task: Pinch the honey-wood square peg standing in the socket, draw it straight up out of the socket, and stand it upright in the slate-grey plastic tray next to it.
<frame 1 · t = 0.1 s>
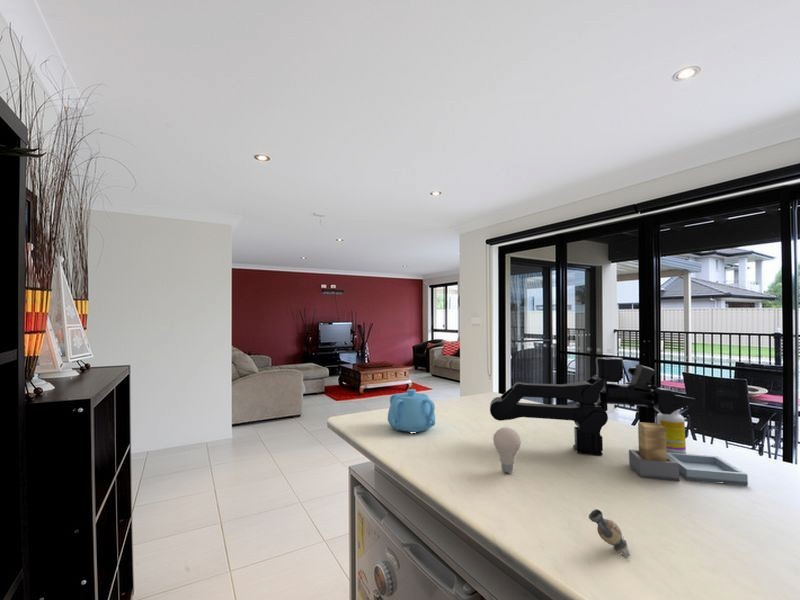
hand: (686, 397, 103), 17 cm above the table, tool horizontal, fingers open, 9 cm apart
tray: (703, 472, 93), on the table
peg: (653, 470, 93), point 1 cm above the table, touching socket
light bulb: (507, 473, 93), on the table
decorative pot: (411, 429, 130), on the table
vase: (607, 550, 62), on the table
supplement bottle: (671, 450, 109), on the table
socket: (653, 472, 93), on the table
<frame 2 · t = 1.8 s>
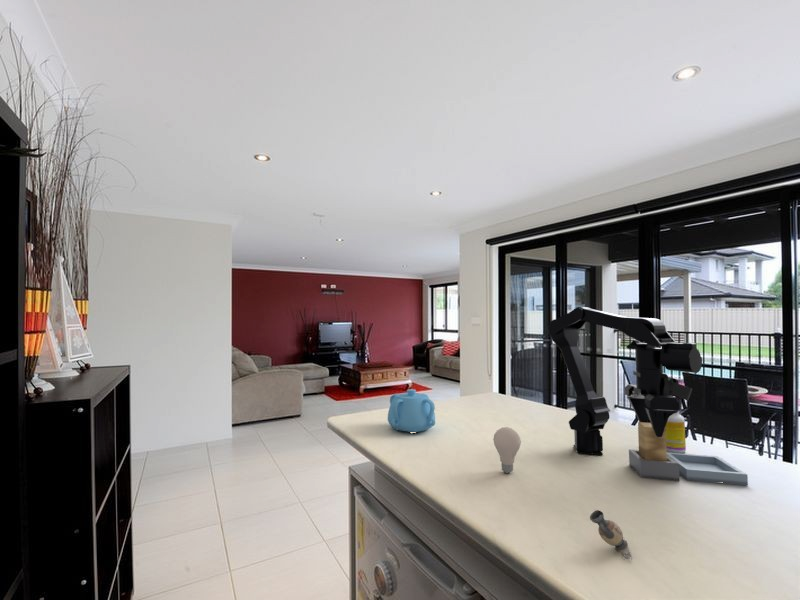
hand: (651, 431, 94), 10 cm above the table, tool pointing down, fingers open, 9 cm apart
nothing on the table moved.
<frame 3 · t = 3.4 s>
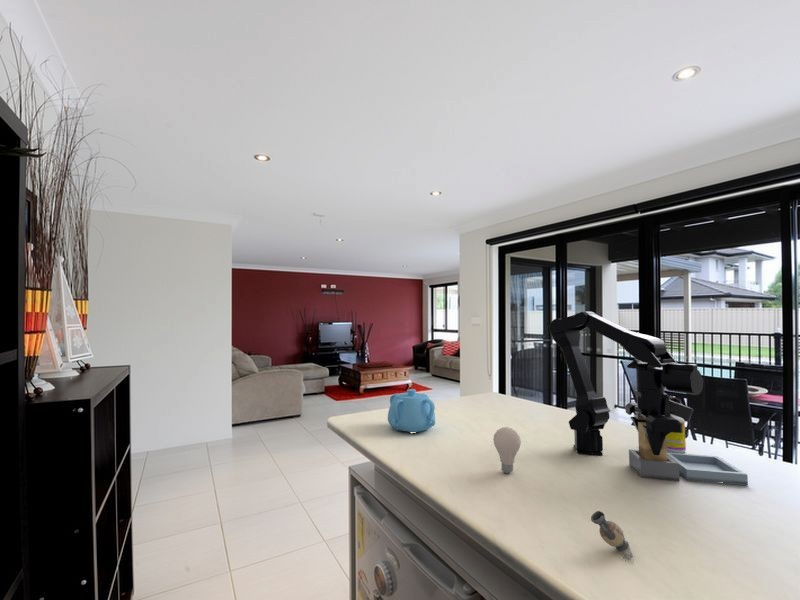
hand: (652, 451, 93), 5 cm above the table, tool pointing down, fingers closed on peg, 4 cm apart
peg: (653, 470, 93), point 1 cm above the table, touching socket, gripper
everything else where it was.
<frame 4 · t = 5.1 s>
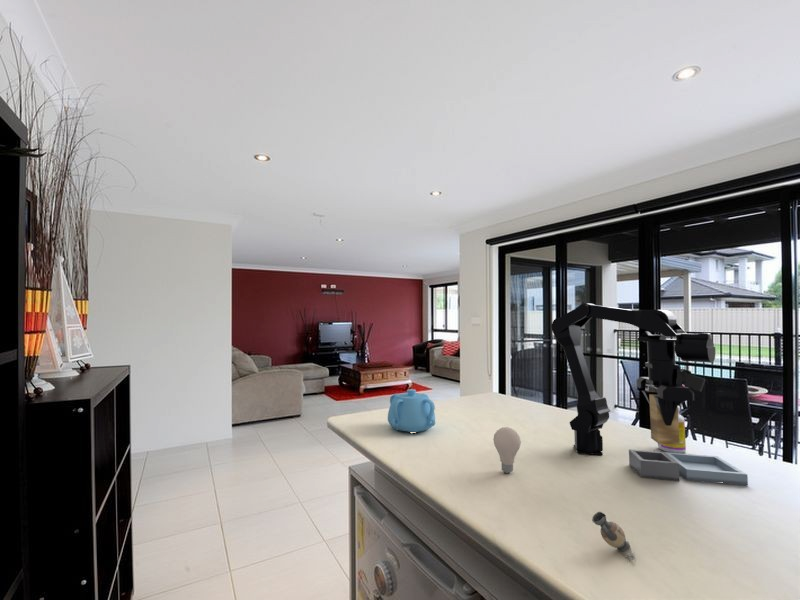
hand: (664, 422, 93), 12 cm above the table, tool pointing down, fingers closed on peg, 4 cm apart
peg: (664, 441, 93), point 8 cm above the table, touching gripper
everything else where it was.
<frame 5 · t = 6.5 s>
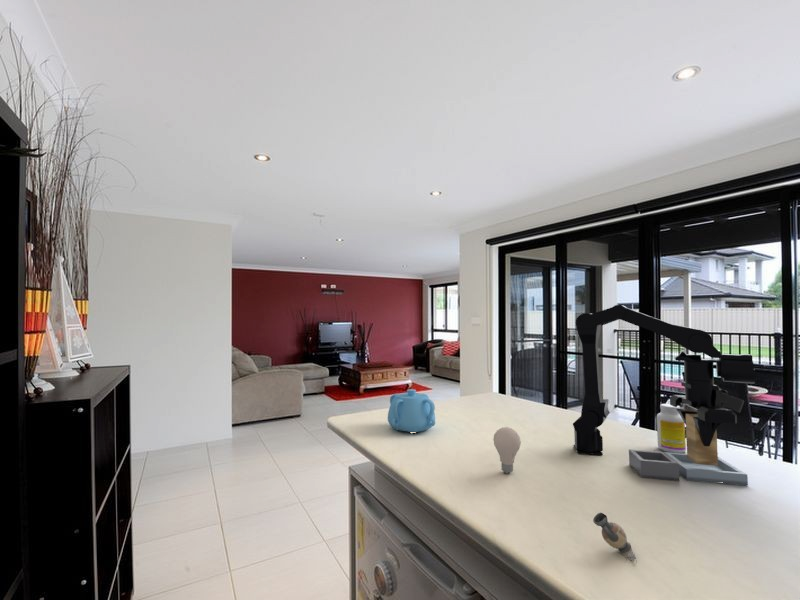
hand: (701, 443, 93), 7 cm above the table, tool pointing down, fingers closed on peg, 4 cm apart
peg: (702, 461, 93), point 3 cm above the table, touching gripper
when the fingers open (7 cm above the table, at t = 7.3 s): peg drops 1 cm, resting on tray.
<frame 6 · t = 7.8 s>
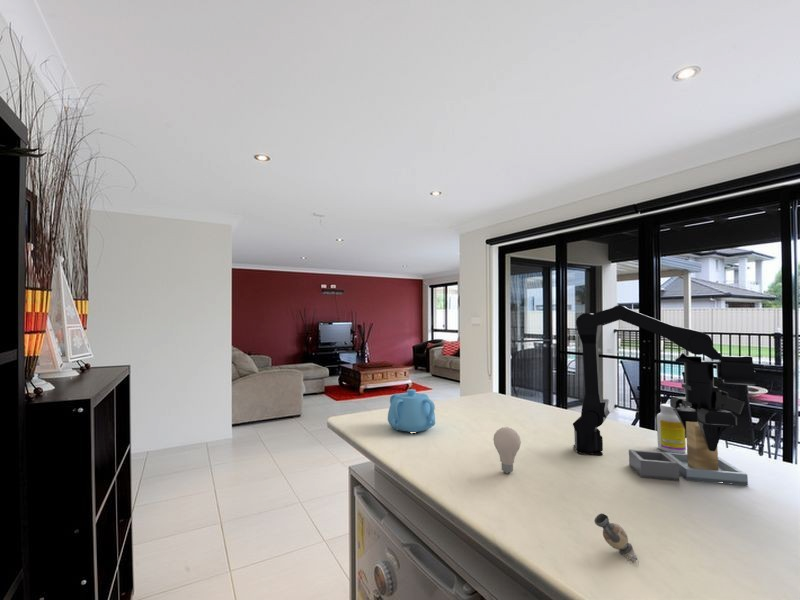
hand: (701, 444, 93), 7 cm above the table, tool pointing down, fingers open, 9 cm apart
peg: (702, 469, 93), point 1 cm above the table, touching tray
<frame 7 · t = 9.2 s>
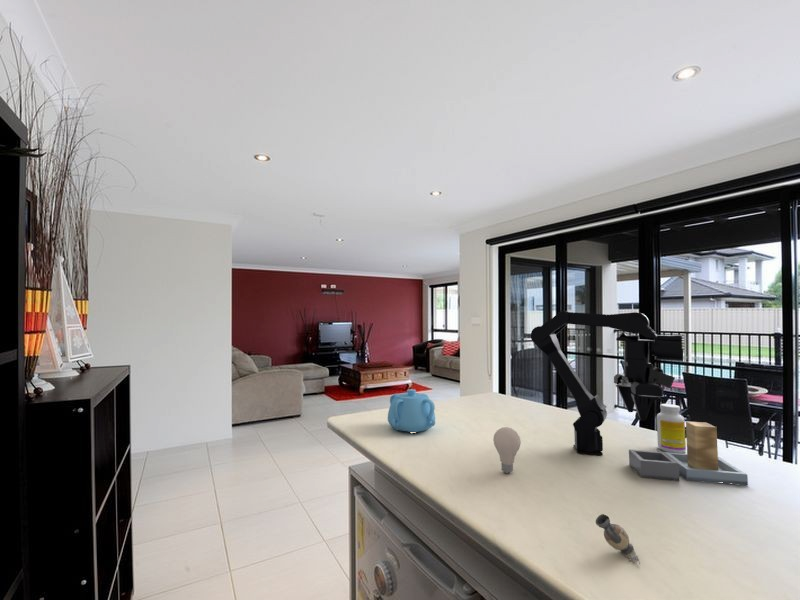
hand: (636, 416, 102), 12 cm above the table, tool pointing down, fingers open, 9 cm apart
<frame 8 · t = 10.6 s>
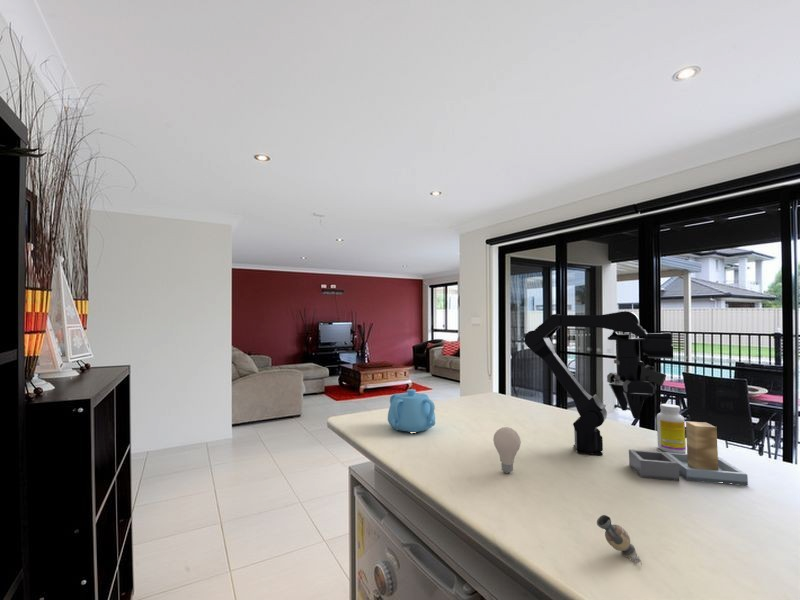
hand: (629, 414, 103), 12 cm above the table, tool pointing down, fingers open, 9 cm apart
at the end: peg 0.1 cm off-centre on the tray, point 0.8 cm above the tray's base; peg tilted 0°; the gripper is holding nothing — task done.
